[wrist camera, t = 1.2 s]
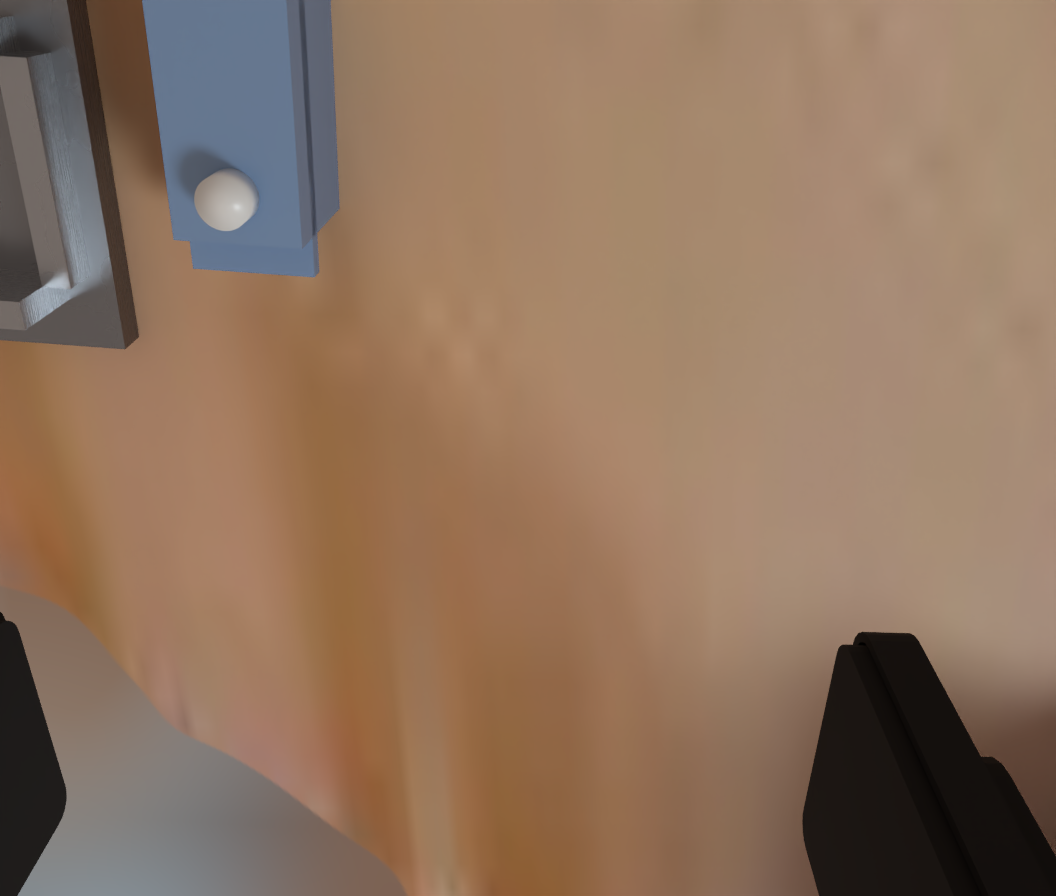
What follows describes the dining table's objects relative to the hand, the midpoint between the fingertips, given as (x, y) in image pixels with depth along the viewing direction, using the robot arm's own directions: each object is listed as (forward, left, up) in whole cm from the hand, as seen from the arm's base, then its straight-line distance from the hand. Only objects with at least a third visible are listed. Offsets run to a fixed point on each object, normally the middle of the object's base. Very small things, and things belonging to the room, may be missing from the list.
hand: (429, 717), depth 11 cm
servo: (-3, -9, -25) cm, 26 cm away
